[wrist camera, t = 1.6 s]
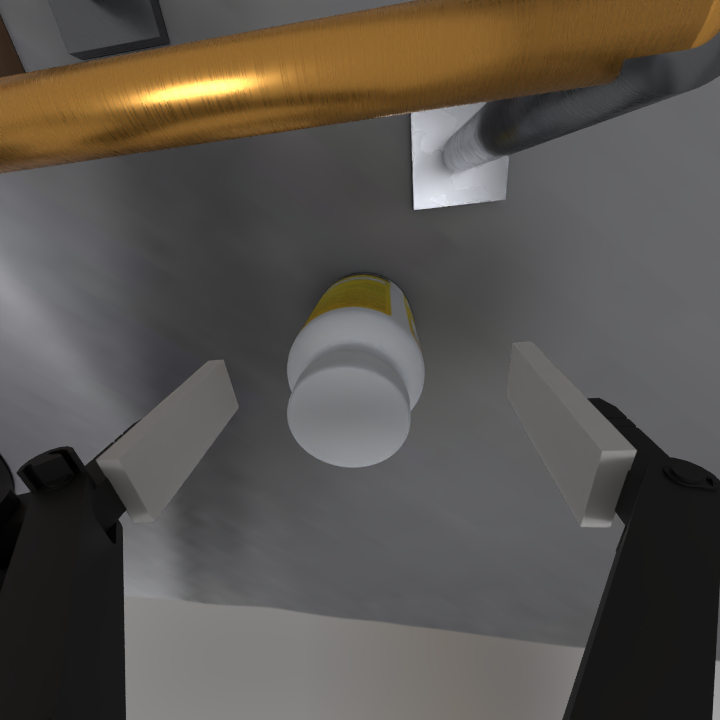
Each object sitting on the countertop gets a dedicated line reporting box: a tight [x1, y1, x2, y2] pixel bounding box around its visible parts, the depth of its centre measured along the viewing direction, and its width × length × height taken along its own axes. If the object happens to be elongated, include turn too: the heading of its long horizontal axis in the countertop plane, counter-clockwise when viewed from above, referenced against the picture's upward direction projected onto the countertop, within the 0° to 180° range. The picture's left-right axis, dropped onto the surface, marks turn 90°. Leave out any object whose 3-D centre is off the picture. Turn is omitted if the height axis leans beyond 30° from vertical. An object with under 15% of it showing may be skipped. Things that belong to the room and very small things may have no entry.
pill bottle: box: [287, 273, 425, 468], centre depth 17 cm, size 6×6×12 cm
